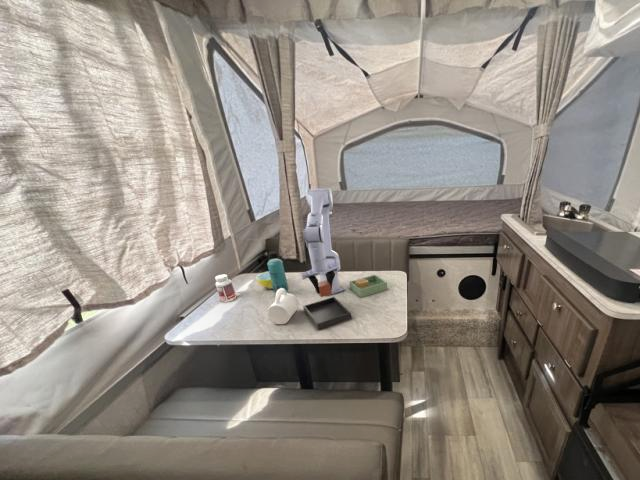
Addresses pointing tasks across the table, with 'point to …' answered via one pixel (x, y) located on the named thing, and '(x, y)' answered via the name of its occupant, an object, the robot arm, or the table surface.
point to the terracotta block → (324, 288)
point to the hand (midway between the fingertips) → (324, 291)
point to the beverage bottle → (277, 272)
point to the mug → (282, 307)
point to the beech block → (362, 283)
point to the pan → (327, 312)
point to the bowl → (265, 280)
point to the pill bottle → (225, 288)
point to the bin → (374, 286)
